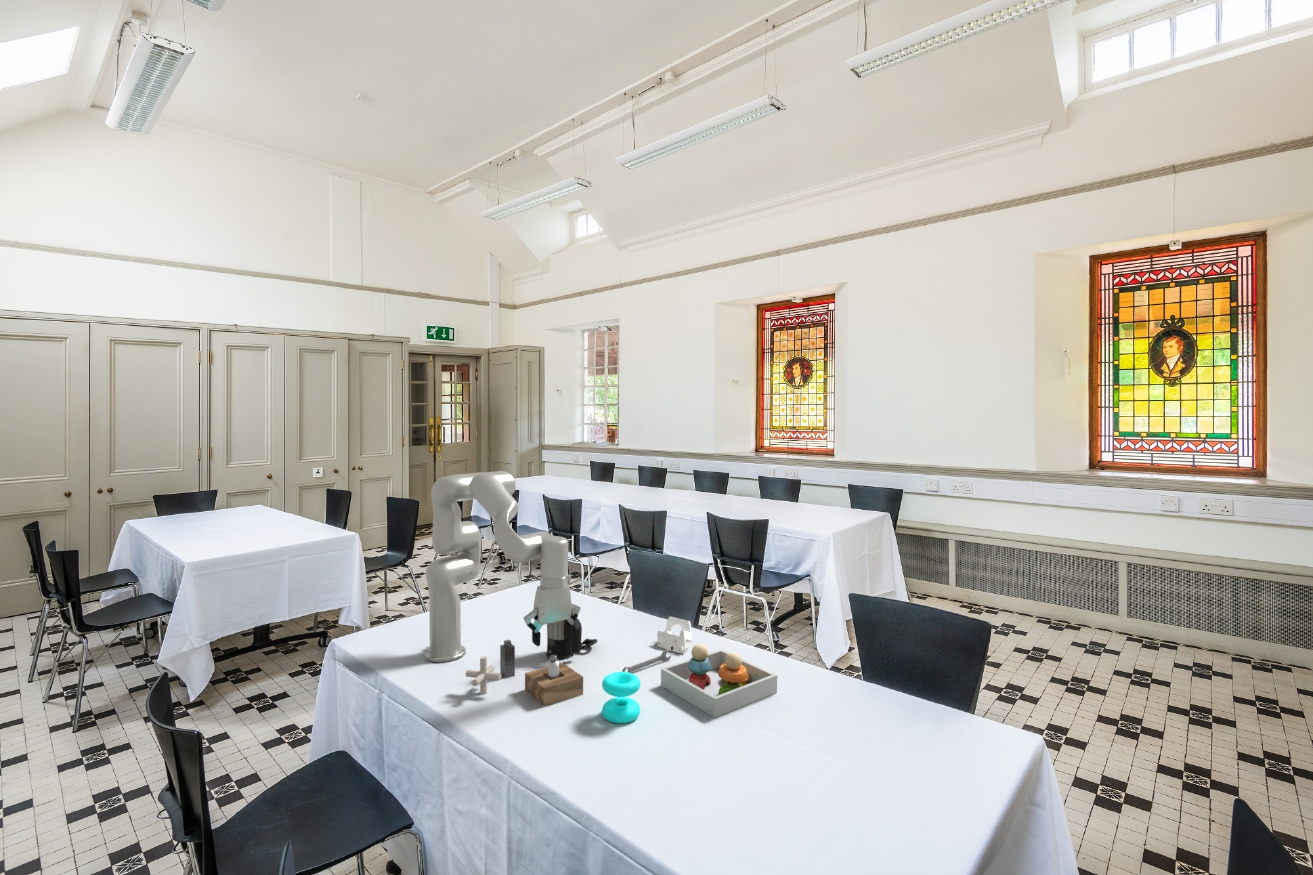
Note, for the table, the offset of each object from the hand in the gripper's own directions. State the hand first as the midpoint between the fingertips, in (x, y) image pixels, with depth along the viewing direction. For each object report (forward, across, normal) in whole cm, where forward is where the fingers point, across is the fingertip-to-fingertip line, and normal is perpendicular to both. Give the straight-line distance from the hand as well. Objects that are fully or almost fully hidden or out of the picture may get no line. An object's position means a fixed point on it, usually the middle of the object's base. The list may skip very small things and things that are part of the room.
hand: (552, 640), depth 170 cm
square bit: (+15, +6, -17) cm, 23 cm away
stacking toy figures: (+14, -41, +26) cm, 50 cm away
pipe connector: (+15, +16, -10) cm, 24 cm away
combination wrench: (+15, -32, +4) cm, 35 cm away
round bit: (+15, 0, +1) cm, 15 cm away
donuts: (+14, -8, +23) cm, 28 cm away
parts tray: (+13, -39, +27) cm, 50 cm away
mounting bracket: (+14, -49, -4) cm, 52 cm away
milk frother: (+15, -19, -21) cm, 32 cm away
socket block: (+14, 0, +1) cm, 15 cm away
